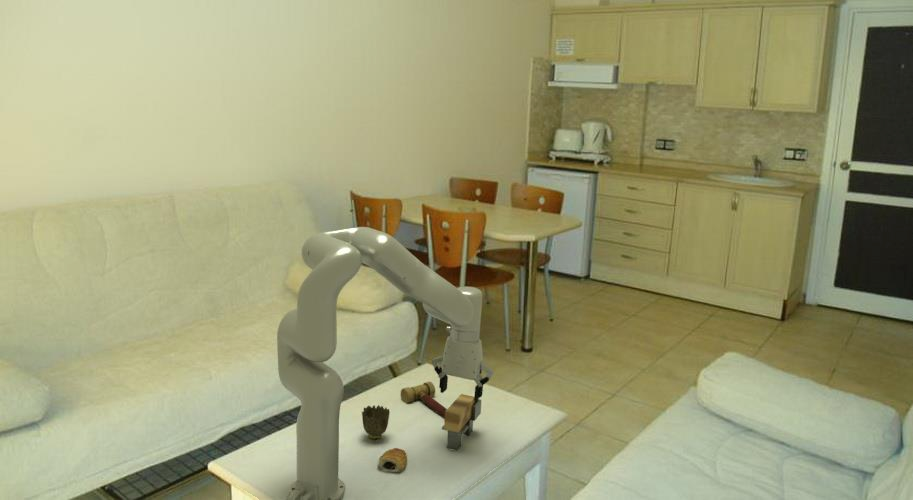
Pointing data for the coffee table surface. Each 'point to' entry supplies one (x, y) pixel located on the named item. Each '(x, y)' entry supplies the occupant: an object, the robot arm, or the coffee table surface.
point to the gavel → (423, 396)
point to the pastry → (393, 460)
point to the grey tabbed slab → (455, 438)
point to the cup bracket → (473, 417)
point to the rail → (459, 413)
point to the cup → (375, 421)
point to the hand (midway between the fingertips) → (460, 394)
